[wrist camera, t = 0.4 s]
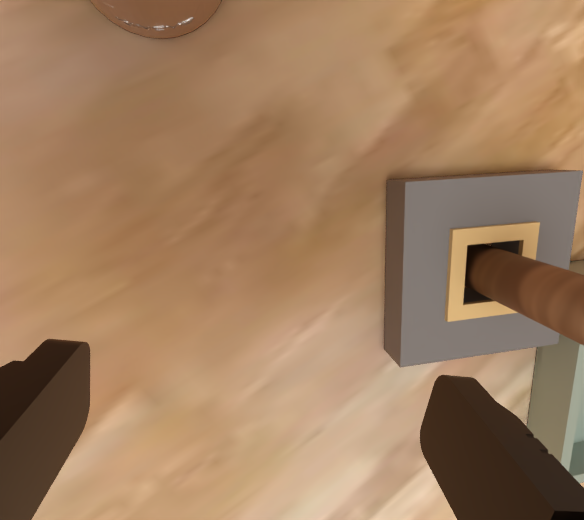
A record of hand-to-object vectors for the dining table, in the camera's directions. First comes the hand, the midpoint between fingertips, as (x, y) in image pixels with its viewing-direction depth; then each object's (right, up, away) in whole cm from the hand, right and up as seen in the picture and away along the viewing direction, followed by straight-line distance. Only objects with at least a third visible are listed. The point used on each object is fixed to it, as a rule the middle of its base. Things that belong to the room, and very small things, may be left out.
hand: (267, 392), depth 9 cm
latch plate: (+15, +3, +23) cm, 27 cm away
